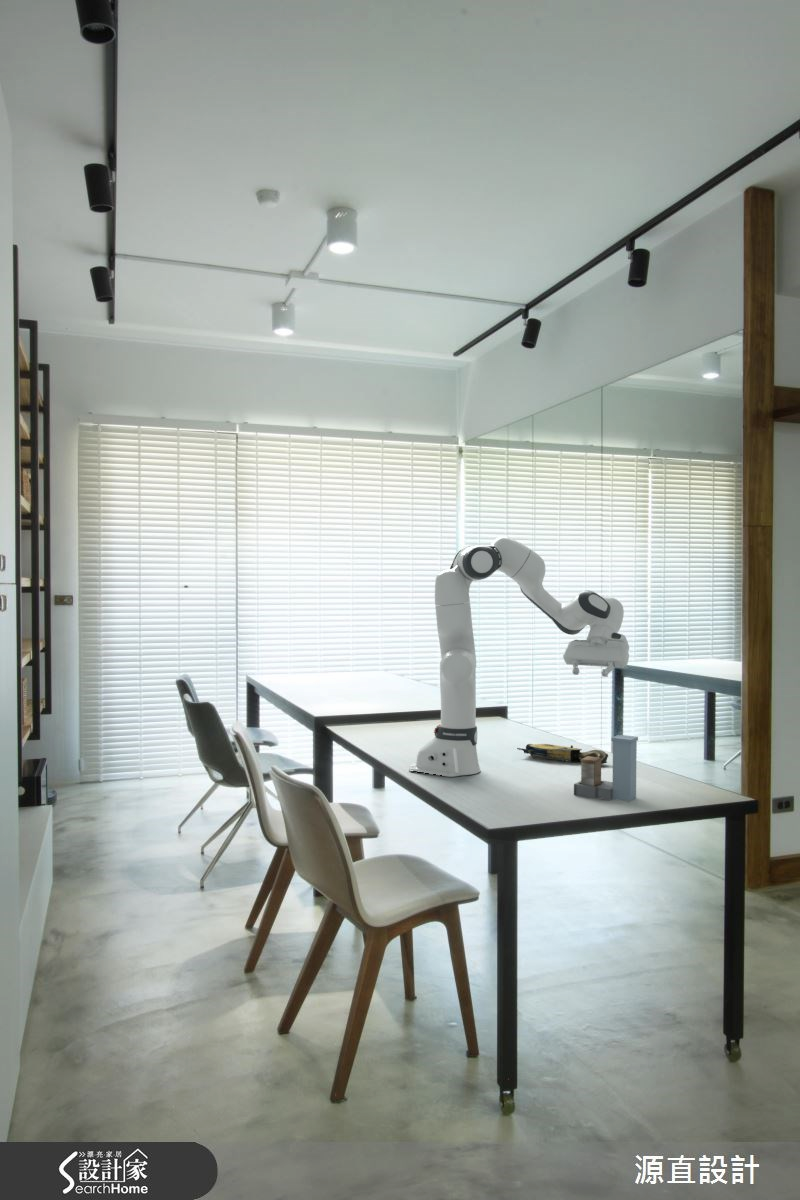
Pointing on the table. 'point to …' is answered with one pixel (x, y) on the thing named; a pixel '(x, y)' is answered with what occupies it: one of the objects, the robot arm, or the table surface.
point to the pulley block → (562, 752)
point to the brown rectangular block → (591, 771)
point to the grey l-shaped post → (616, 773)
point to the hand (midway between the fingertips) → (589, 674)
